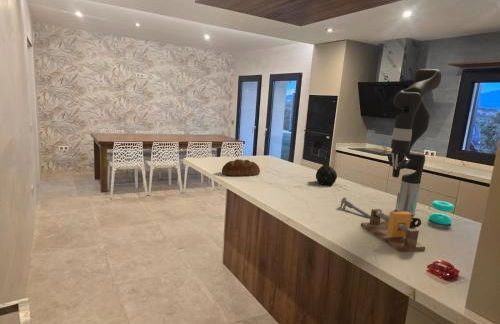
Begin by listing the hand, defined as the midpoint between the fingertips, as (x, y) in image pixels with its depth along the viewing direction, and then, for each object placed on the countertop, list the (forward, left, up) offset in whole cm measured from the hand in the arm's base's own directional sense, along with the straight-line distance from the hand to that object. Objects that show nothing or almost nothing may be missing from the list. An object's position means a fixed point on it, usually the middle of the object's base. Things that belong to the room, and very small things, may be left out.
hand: (395, 176), depth 141 cm
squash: (-80, +9, -25) cm, 84 cm away
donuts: (-7, +36, -25) cm, 45 cm away
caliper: (-22, -2, -25) cm, 33 cm away
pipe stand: (+8, -5, -25) cm, 27 cm away
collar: (+12, -5, -22) cm, 26 cm away
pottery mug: (-1, +11, -25) cm, 27 cm away
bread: (-106, -47, -25) cm, 118 cm away
